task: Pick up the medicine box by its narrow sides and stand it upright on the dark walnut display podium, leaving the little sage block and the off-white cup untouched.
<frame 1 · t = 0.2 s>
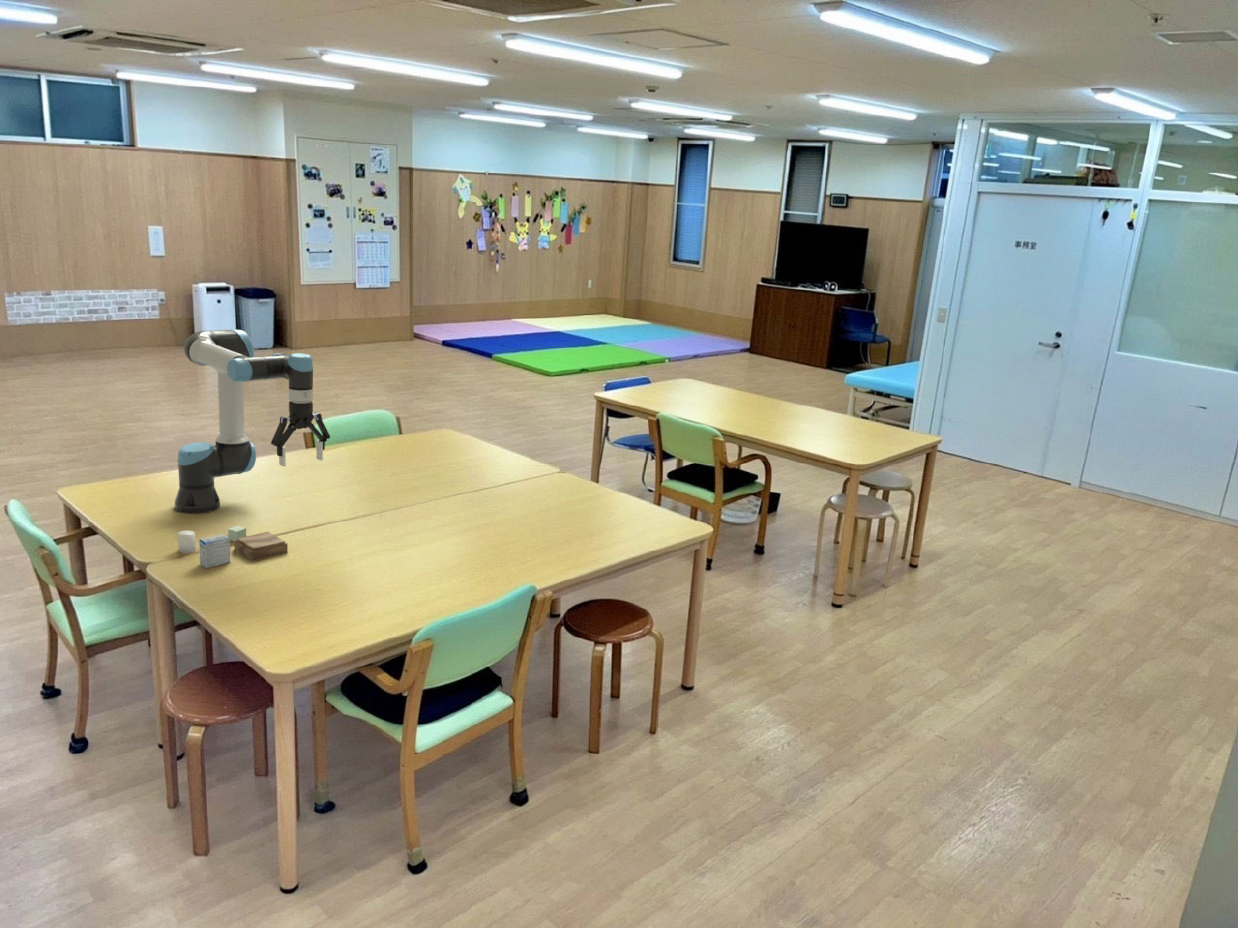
hand: (301, 462, 305), 28 cm above the table, fingers open, 13 cm apart
podium: (261, 551, 300), on the table
cup: (187, 550, 295), on the table
medicine box: (215, 564, 287), on the table
sage block: (237, 539, 307), on the table
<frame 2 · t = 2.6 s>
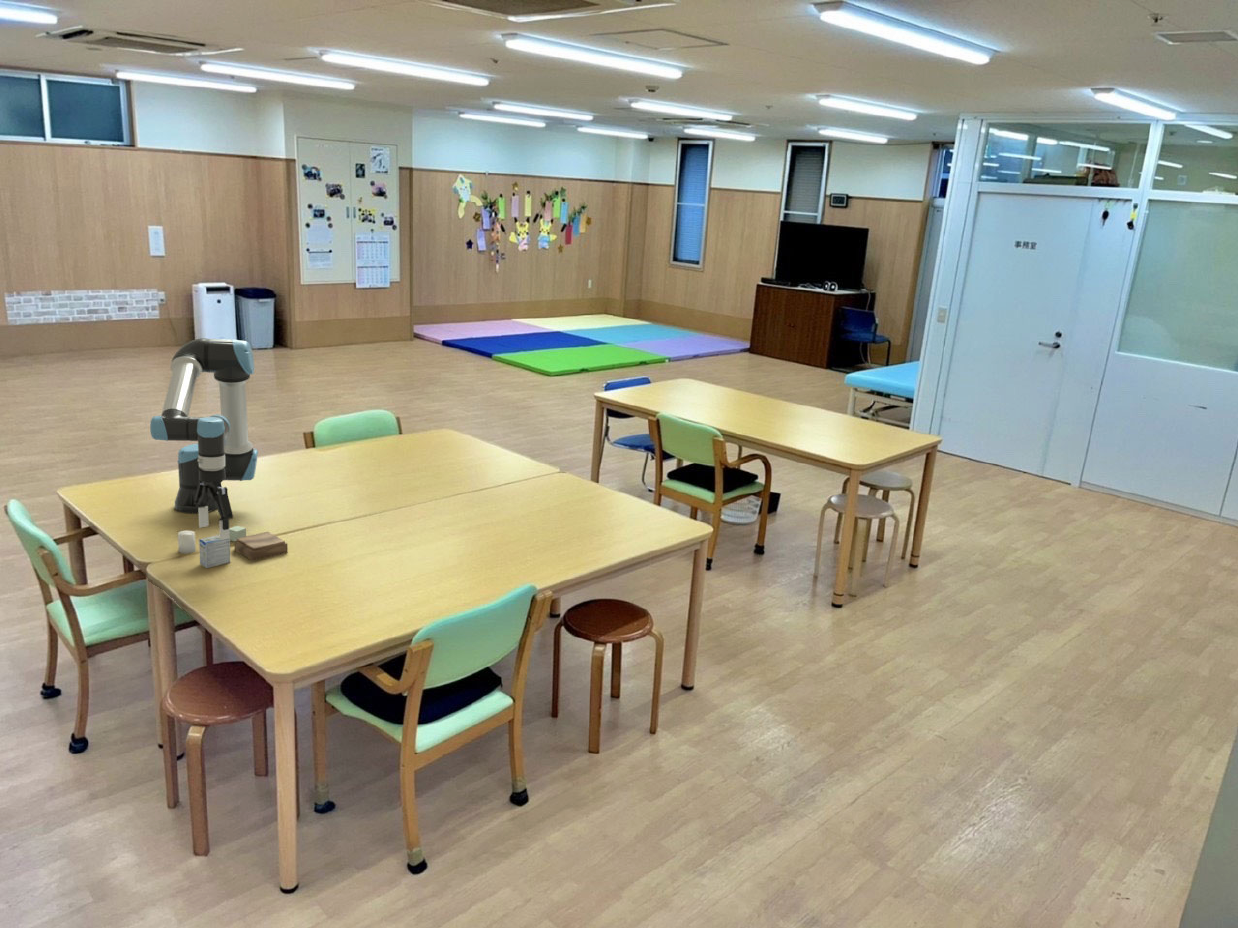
hand: (214, 532, 284), 11 cm above the table, fingers open, 13 cm apart
nothing on the table moved.
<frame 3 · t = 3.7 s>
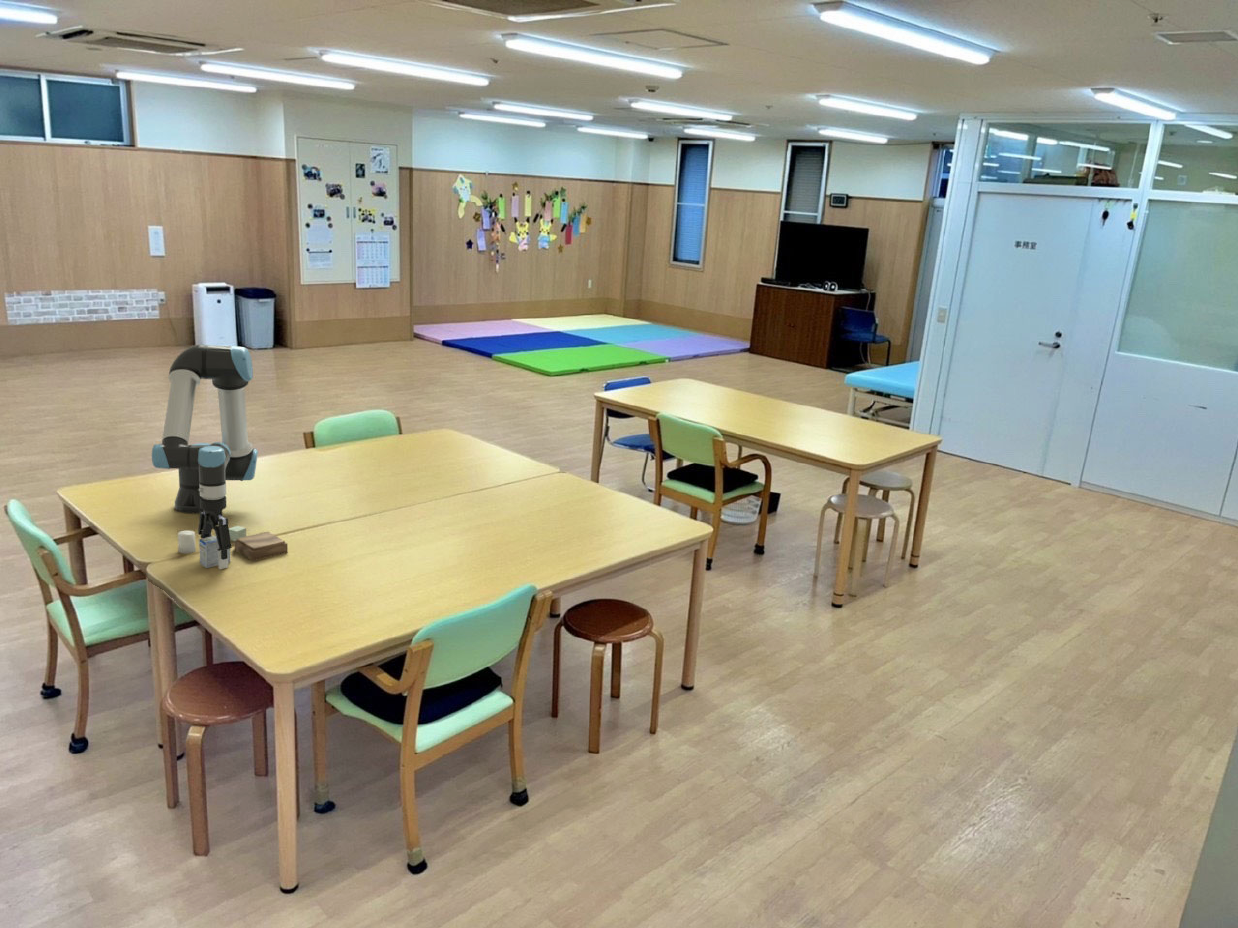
hand: (215, 562, 287), 0 cm above the table, fingers open, 10 cm apart
nothing on the table moved.
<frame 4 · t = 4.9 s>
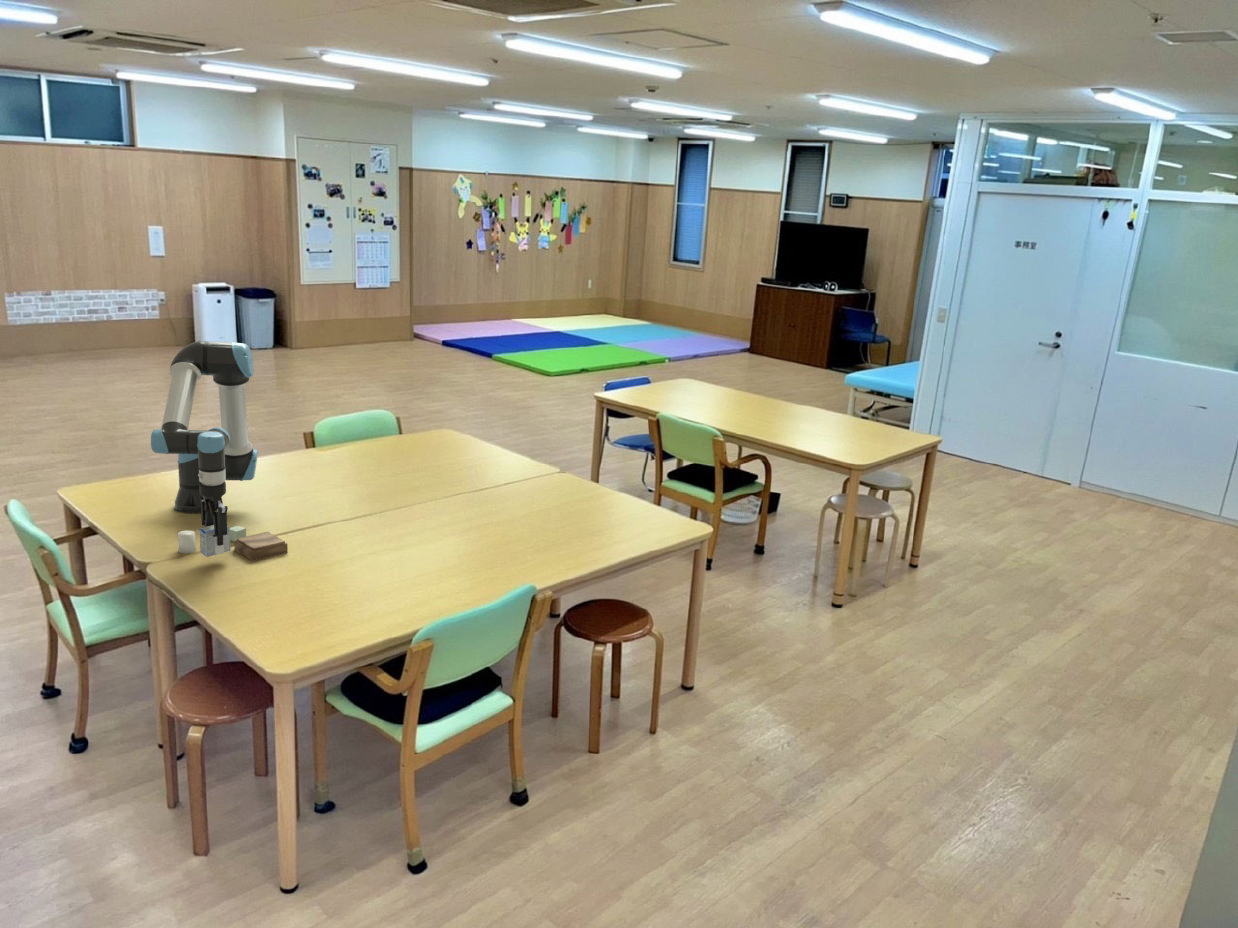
hand: (215, 551, 287), 4 cm above the table, fingers closed on medicine box, 4 cm apart
medicine box: (215, 552, 287), point 3 cm above the table, touching gripper
everything else where it was.
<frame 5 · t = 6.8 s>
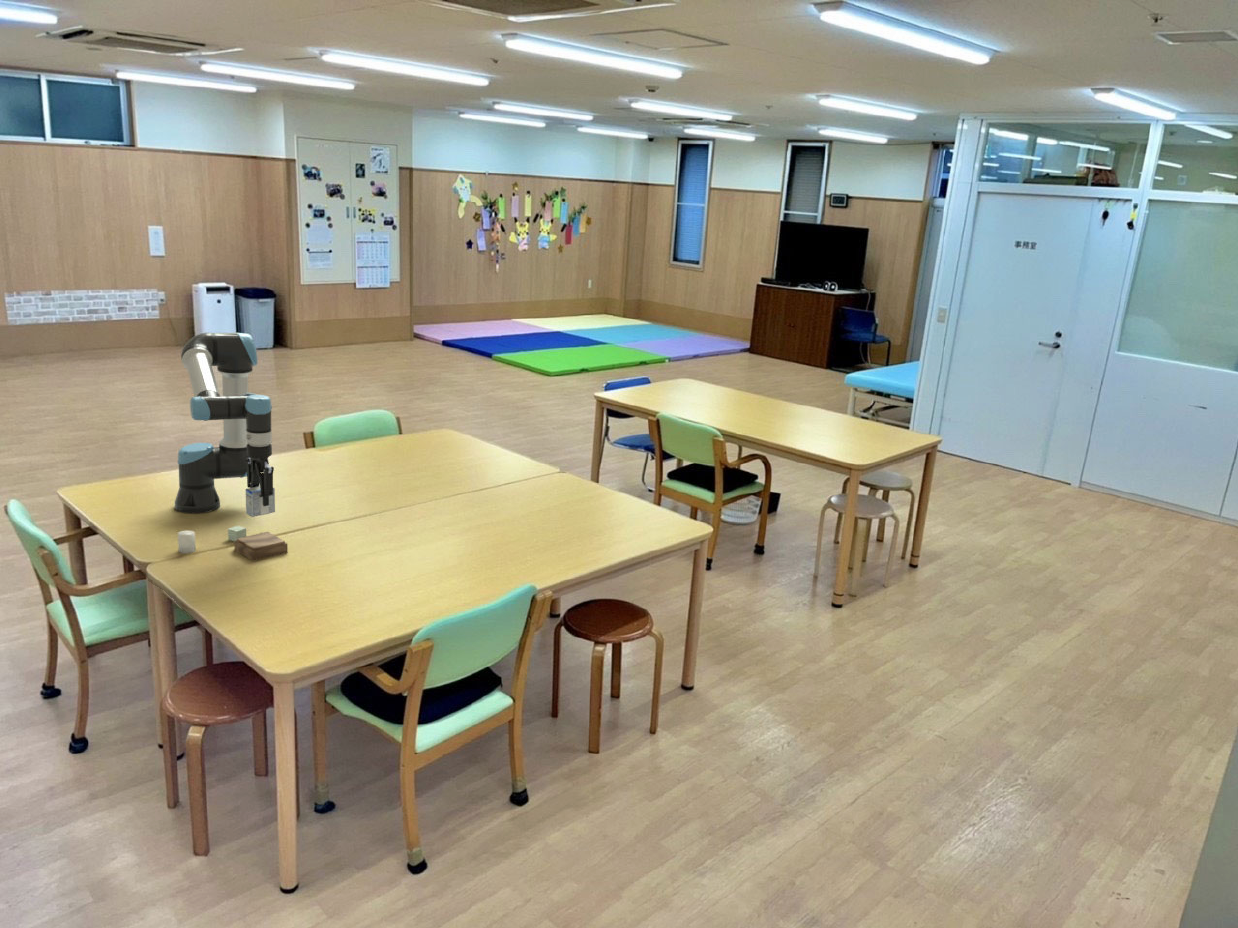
hand: (260, 512, 296), 14 cm above the table, fingers closed on medicine box, 4 cm apart
medicine box: (260, 513, 296), point 13 cm above the table, touching gripper
everything else where it was.
when the fingers open (5 cm above the table, at t = 8.5 s): medicine box stays where it is, resting on podium.
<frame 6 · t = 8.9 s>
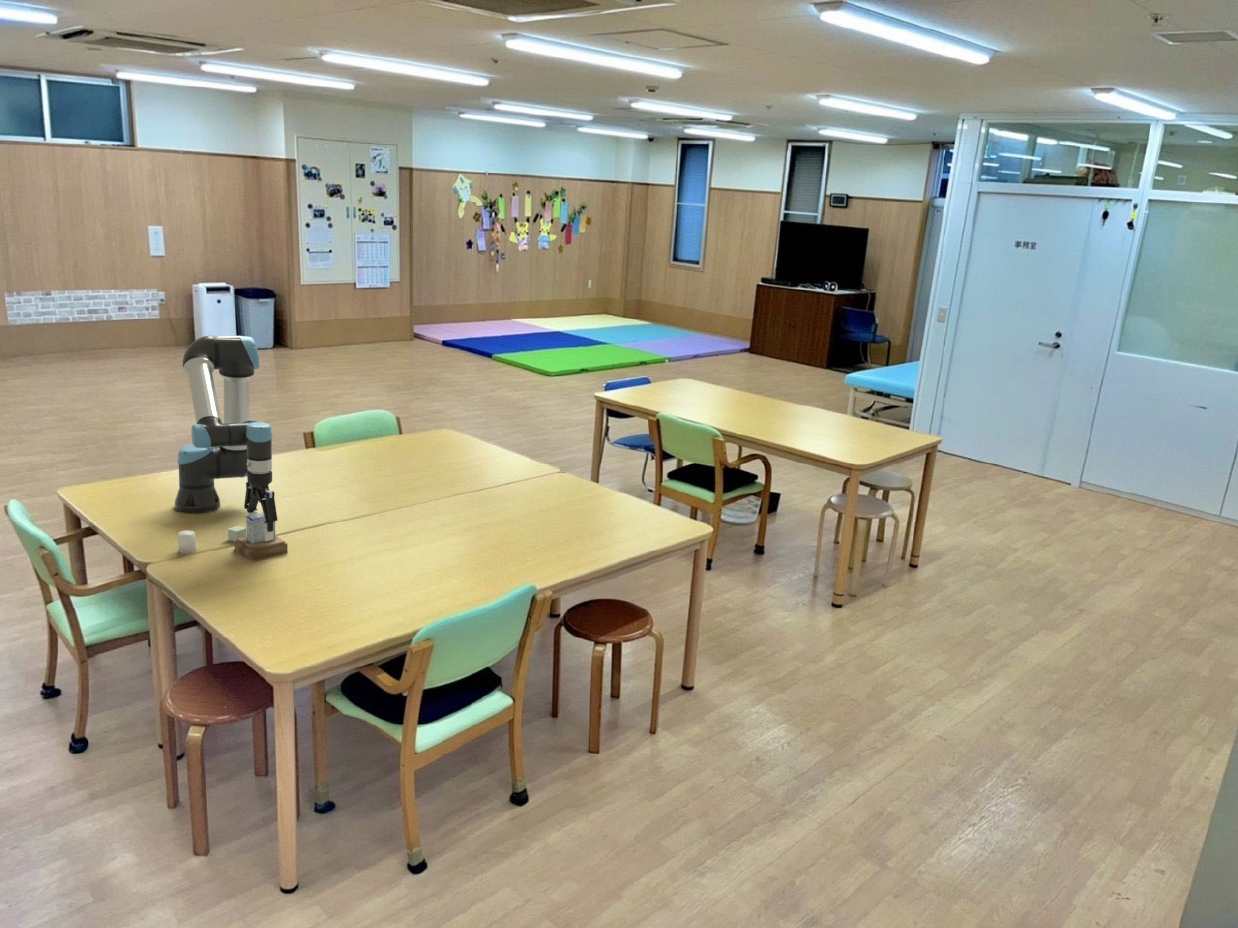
hand: (260, 535, 298), 6 cm above the table, fingers open, 9 cm apart
medicine box: (261, 540, 299), point 4 cm above the table, touching podium
everything else where it was.
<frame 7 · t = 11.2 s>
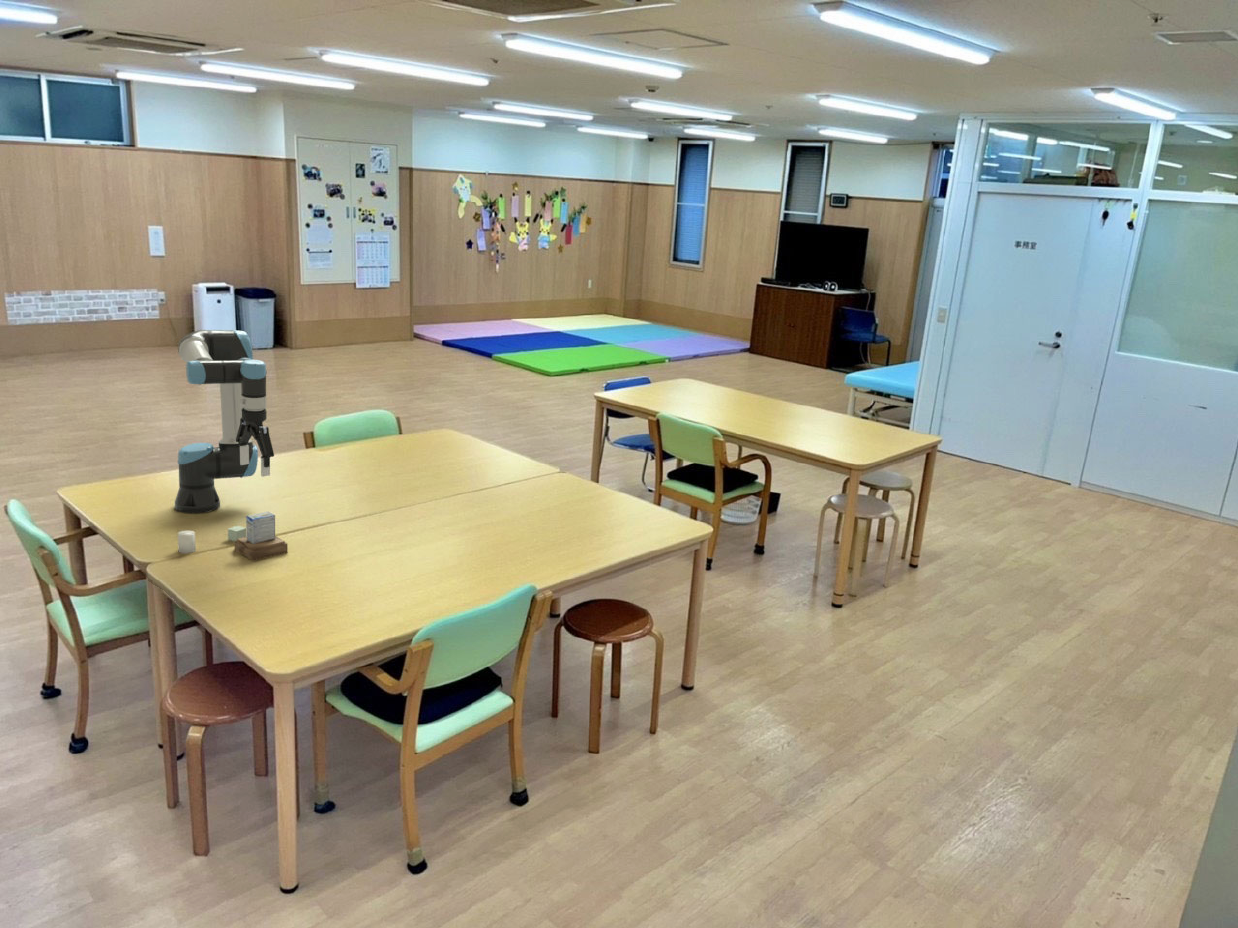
hand: (254, 470, 300), 26 cm above the table, fingers open, 13 cm apart
nothing on the table moved.
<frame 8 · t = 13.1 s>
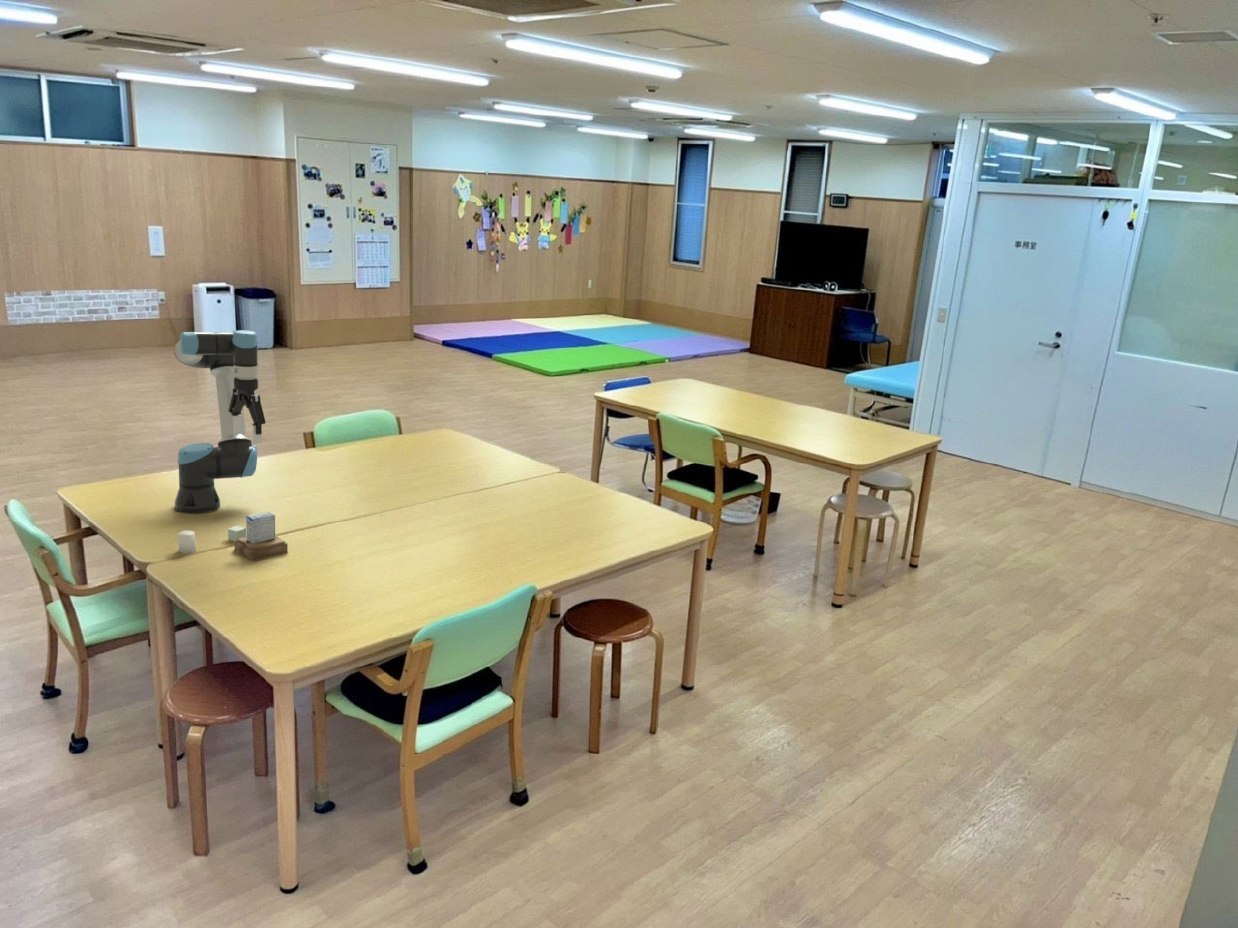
hand: (247, 438, 309), 33 cm above the table, fingers open, 13 cm apart
nothing on the table moved.
at the end: medicine box inside the target area on the podium (0.1 cm from its centre), point 3.8 cm above the podium's base; medicine box tilted 0°; the gripper is holding nothing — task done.
